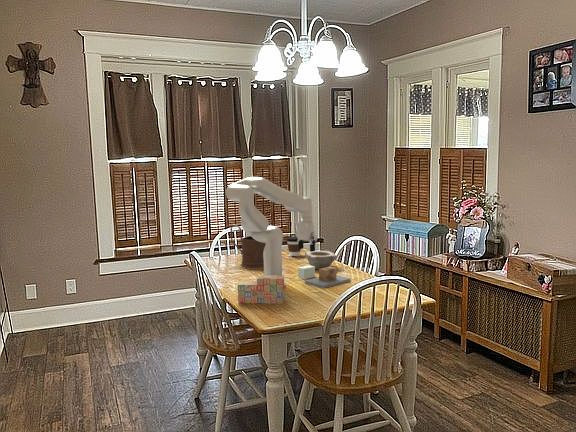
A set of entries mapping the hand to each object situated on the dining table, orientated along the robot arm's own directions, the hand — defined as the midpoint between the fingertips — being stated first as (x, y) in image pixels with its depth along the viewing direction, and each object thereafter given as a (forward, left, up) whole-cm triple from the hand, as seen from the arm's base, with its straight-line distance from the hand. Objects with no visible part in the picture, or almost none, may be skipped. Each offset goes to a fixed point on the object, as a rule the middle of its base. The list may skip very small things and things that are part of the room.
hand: (306, 250), depth 289 cm
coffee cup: (+33, +50, -16) cm, 62 cm away
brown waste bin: (-5, +48, -16) cm, 51 cm away
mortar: (+20, +11, -16) cm, 28 cm away
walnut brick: (0, -16, -14) cm, 21 cm away
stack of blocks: (-46, -21, -16) cm, 53 cm away
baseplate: (0, -16, -15) cm, 22 cm away
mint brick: (0, 0, -15) cm, 15 cm away
